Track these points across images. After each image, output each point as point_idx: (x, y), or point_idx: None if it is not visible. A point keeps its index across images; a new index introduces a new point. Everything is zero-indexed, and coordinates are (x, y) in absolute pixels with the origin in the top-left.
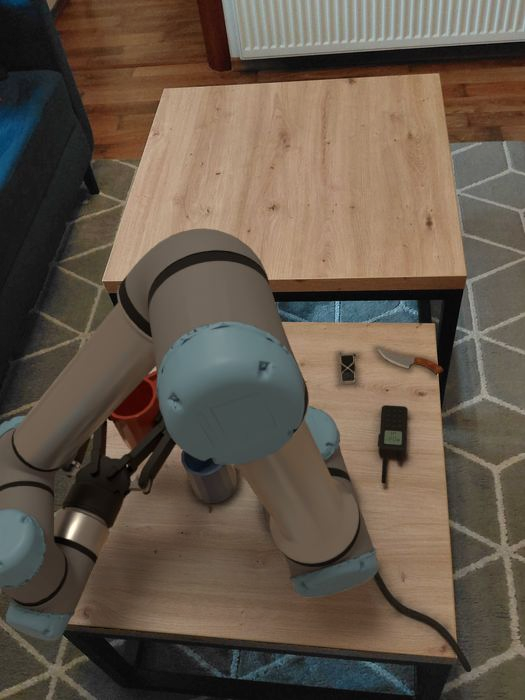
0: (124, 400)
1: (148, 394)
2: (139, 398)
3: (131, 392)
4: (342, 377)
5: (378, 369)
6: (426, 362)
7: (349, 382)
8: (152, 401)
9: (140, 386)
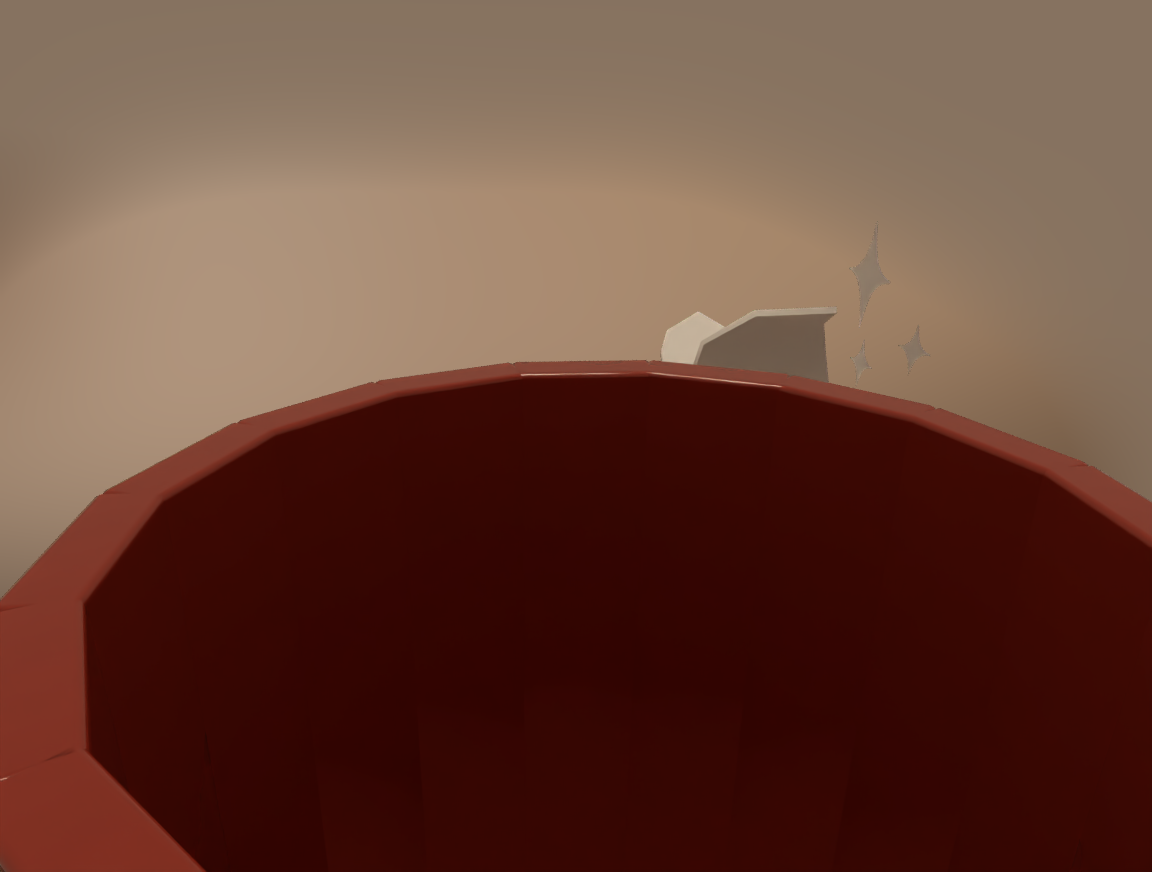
0: (300, 822)
1: (611, 684)
2: (469, 784)
3: (404, 676)
4: None
5: None
6: None
7: None
8: (1147, 518)
9: (545, 553)
